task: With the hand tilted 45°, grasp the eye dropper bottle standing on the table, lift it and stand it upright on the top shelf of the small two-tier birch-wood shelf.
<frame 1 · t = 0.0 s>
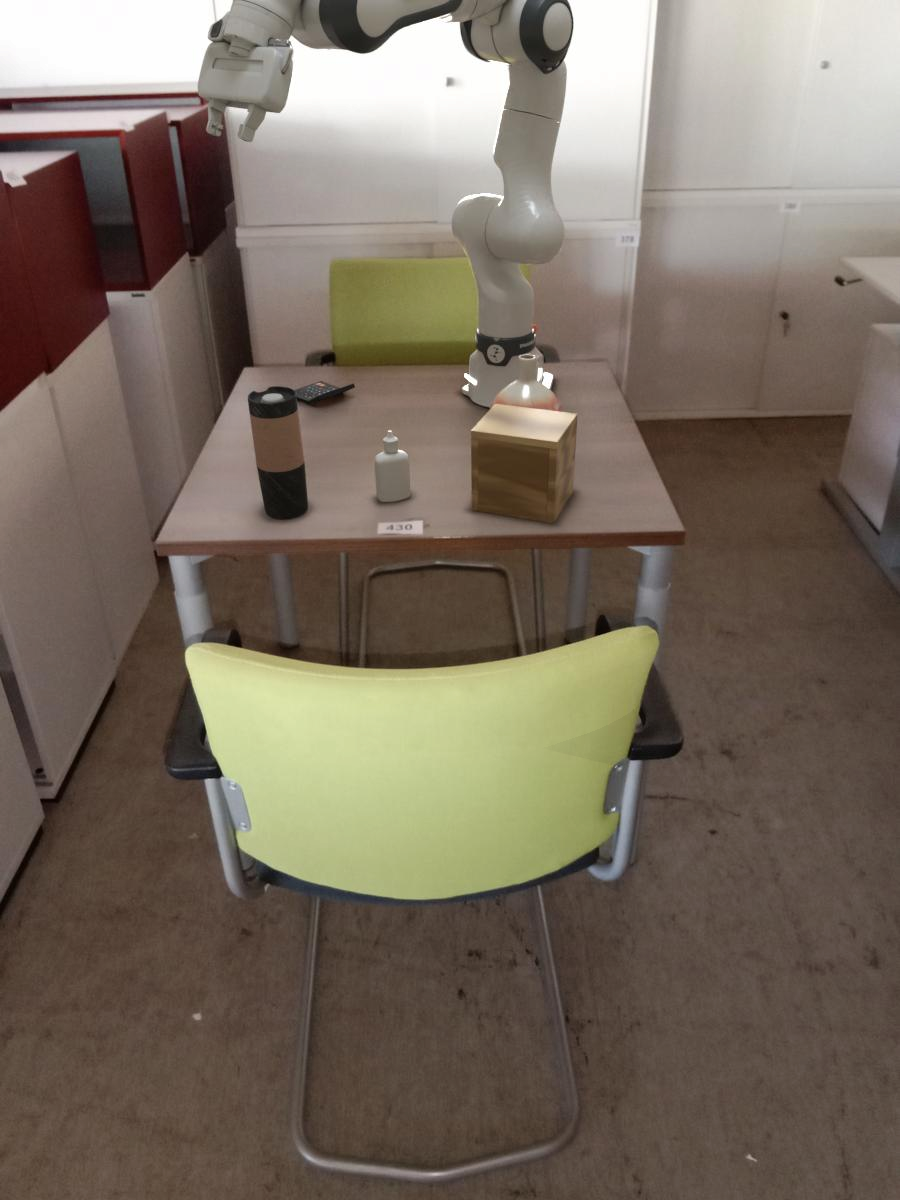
hand: (228, 137, 136), 54 cm above the table, tool tilted 30°, fingers open, 8 cm apart
calculator: (321, 397, 197), on the table
vase: (524, 450, 173), on the table
travel mug: (286, 511, 154), on the table
shelf: (523, 500, 155), on the table
eye dropper bottle: (393, 498, 157), on the table
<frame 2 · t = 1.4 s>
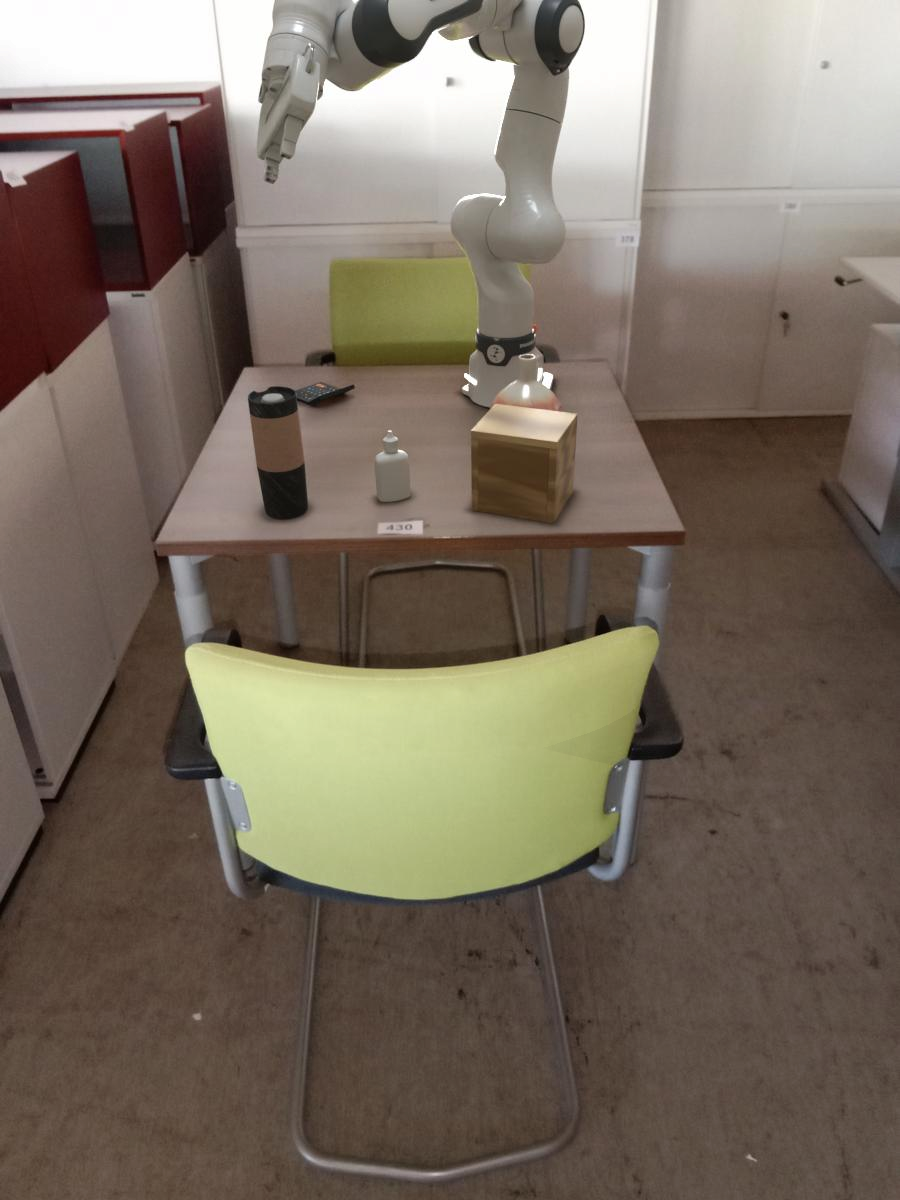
hand: (277, 169, 131), 51 cm above the table, tool tilted 35°, fingers open, 8 cm apart
nothing on the table moved.
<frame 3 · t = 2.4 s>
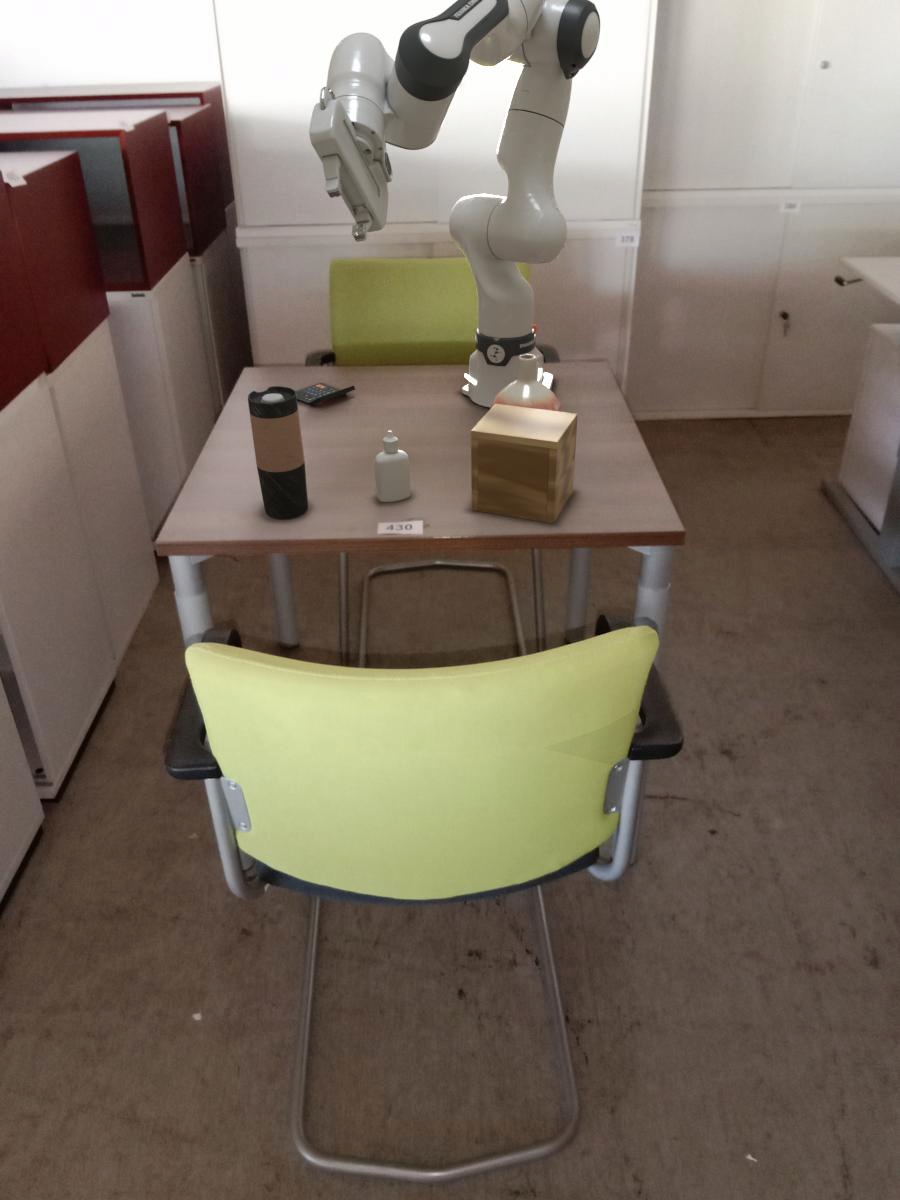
hand: (346, 216, 130), 45 cm above the table, tool tilted 50°, fingers open, 8 cm apart
nothing on the table moved.
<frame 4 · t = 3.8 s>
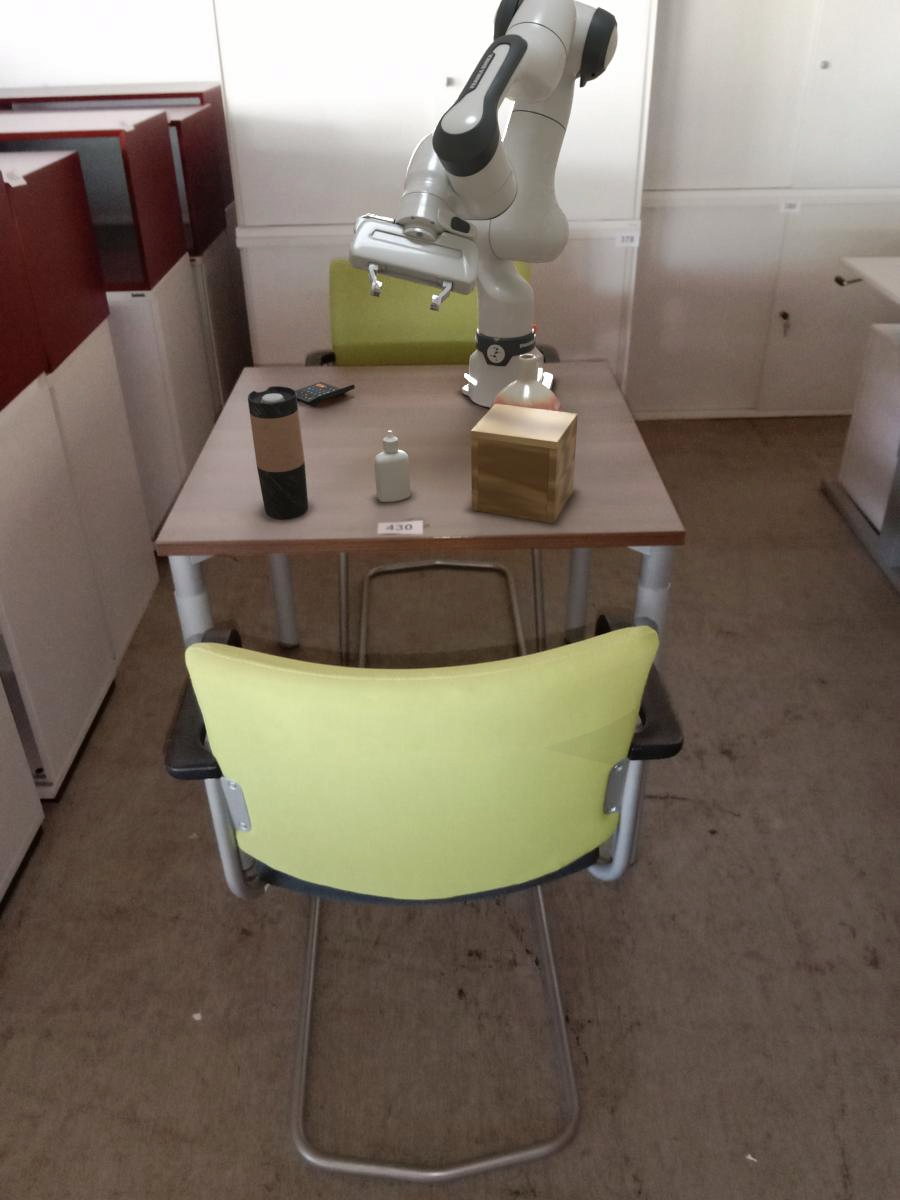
hand: (404, 301, 143), 32 cm above the table, tool tilted 50°, fingers open, 8 cm apart
nothing on the table moved.
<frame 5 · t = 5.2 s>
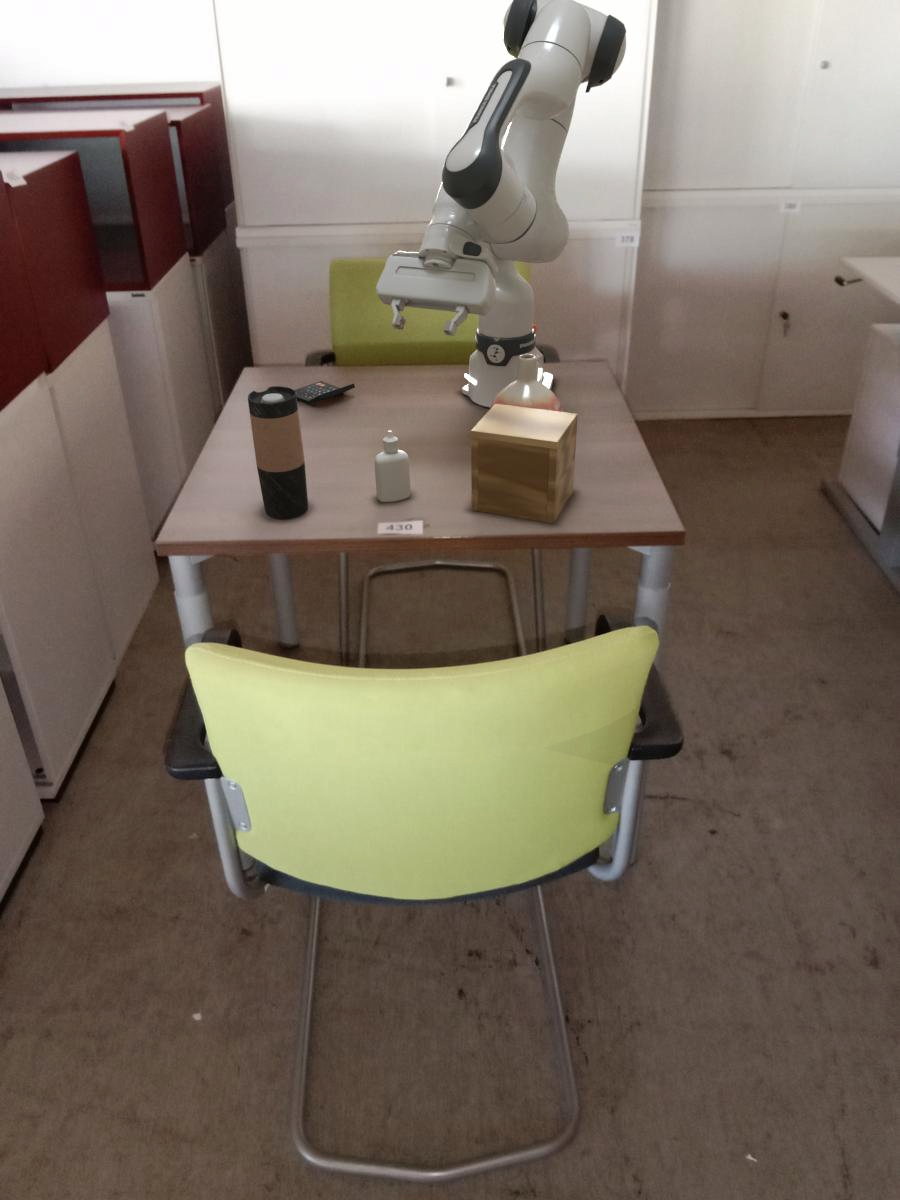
hand: (422, 330, 153), 25 cm above the table, tool tilted 45°, fingers open, 8 cm apart
nothing on the table moved.
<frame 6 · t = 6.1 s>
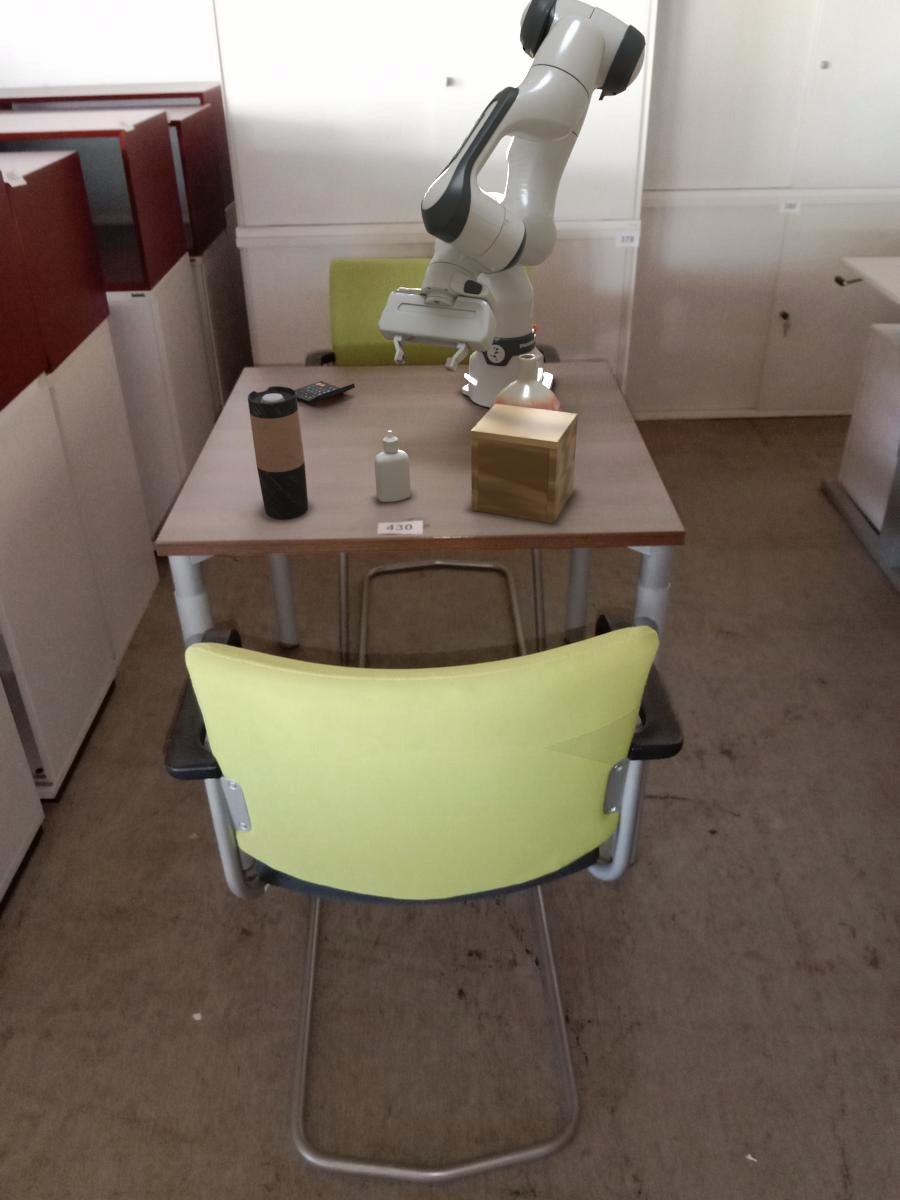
hand: (424, 366, 156), 19 cm above the table, tool tilted 45°, fingers open, 8 cm apart
nothing on the table moved.
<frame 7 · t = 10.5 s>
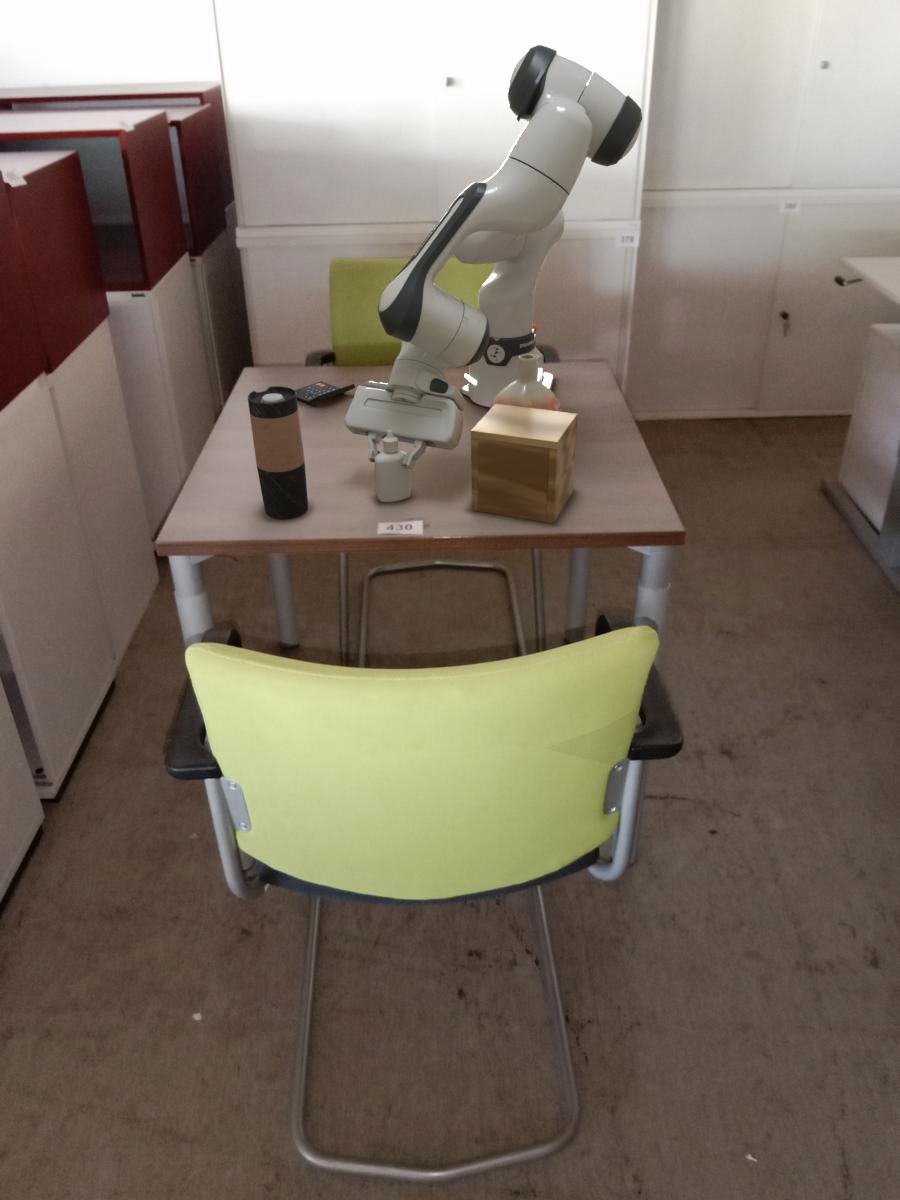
hand: (390, 464, 153), 6 cm above the table, tool tilted 45°, fingers closed on eye dropper bottle, 5 cm apart
eye dropper bottle: (393, 498, 157), on the table, touching gripper
everything else where it was.
when the fingers open (20 cm above the table, at t = 19.9 s): eye dropper bottle stays where it is, resting on shelf.
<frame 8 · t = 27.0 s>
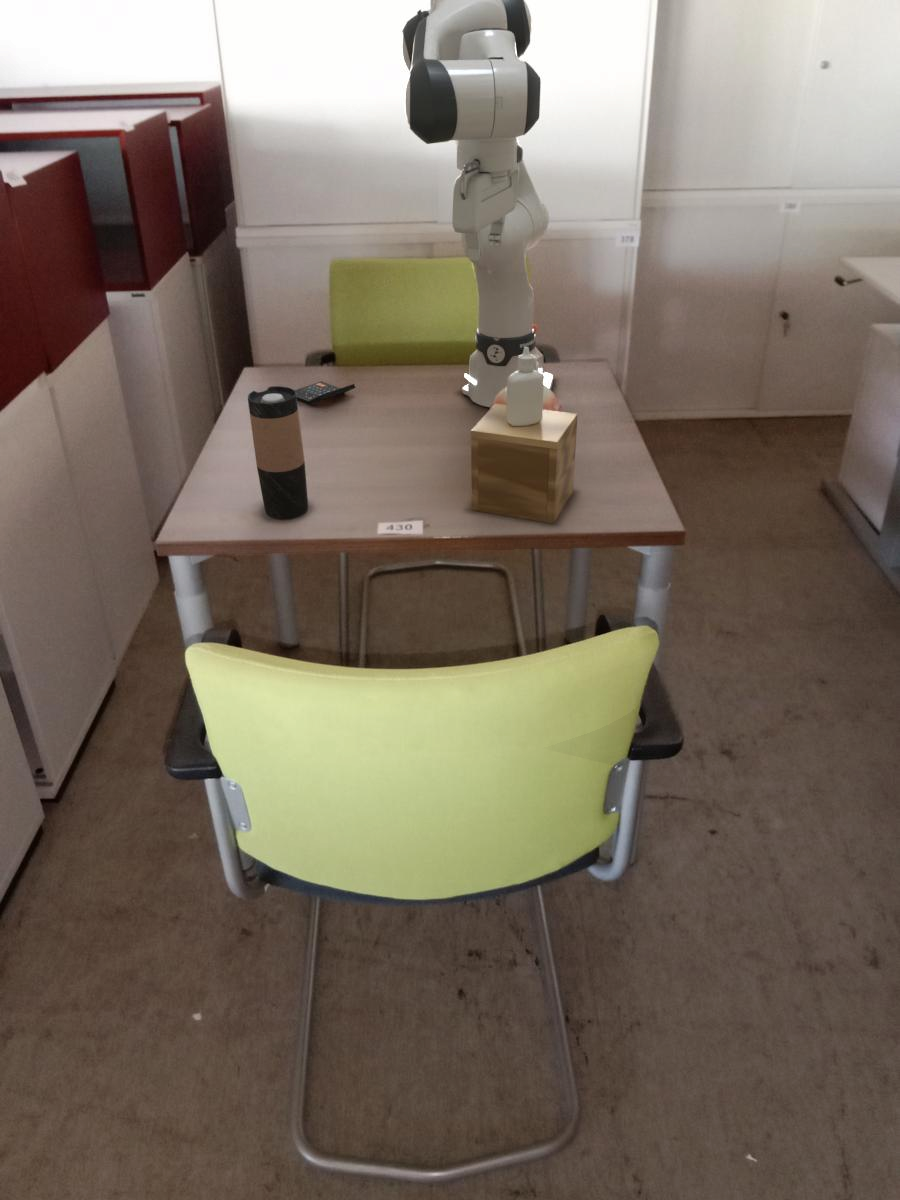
hand: (485, 252, 146), 37 cm above the table, tool pointing down, fingers open, 8 cm apart
eye dropper bottle: (524, 423, 148), point 14 cm above the table, touching shelf
everything else where it was.
at the end: eye dropper bottle inside the target area on the shelf (0.1 cm from its centre), point 13.8 cm above the shelf's base; eye dropper bottle tilted 0°; the gripper is holding nothing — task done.
